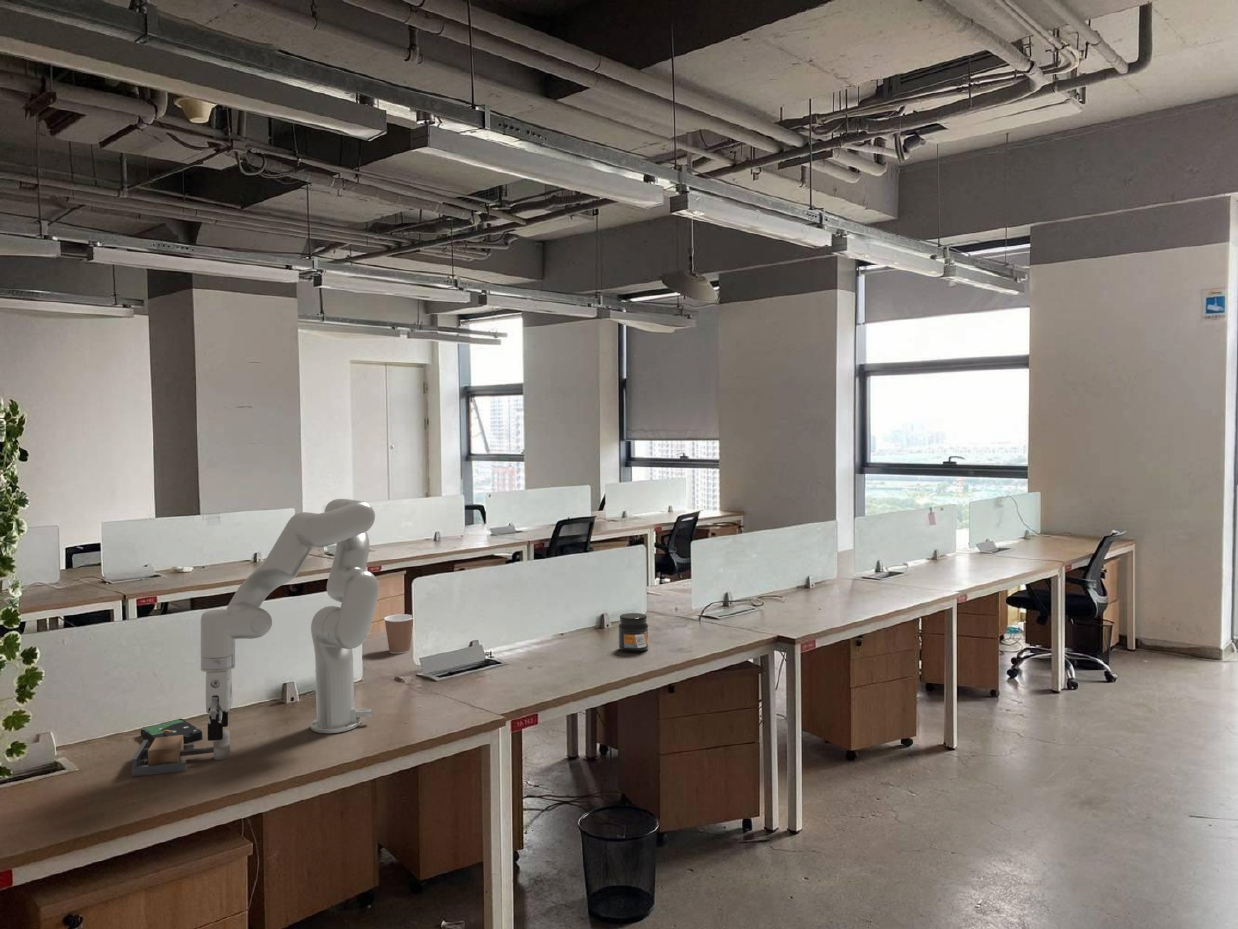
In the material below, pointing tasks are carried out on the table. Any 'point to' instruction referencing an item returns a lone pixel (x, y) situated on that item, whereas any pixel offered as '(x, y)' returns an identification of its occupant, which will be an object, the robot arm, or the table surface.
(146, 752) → the grey u-shaped frame
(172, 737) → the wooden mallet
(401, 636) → the coffee cup
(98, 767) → the table surface
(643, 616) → the supplement container
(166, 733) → the disk drive
